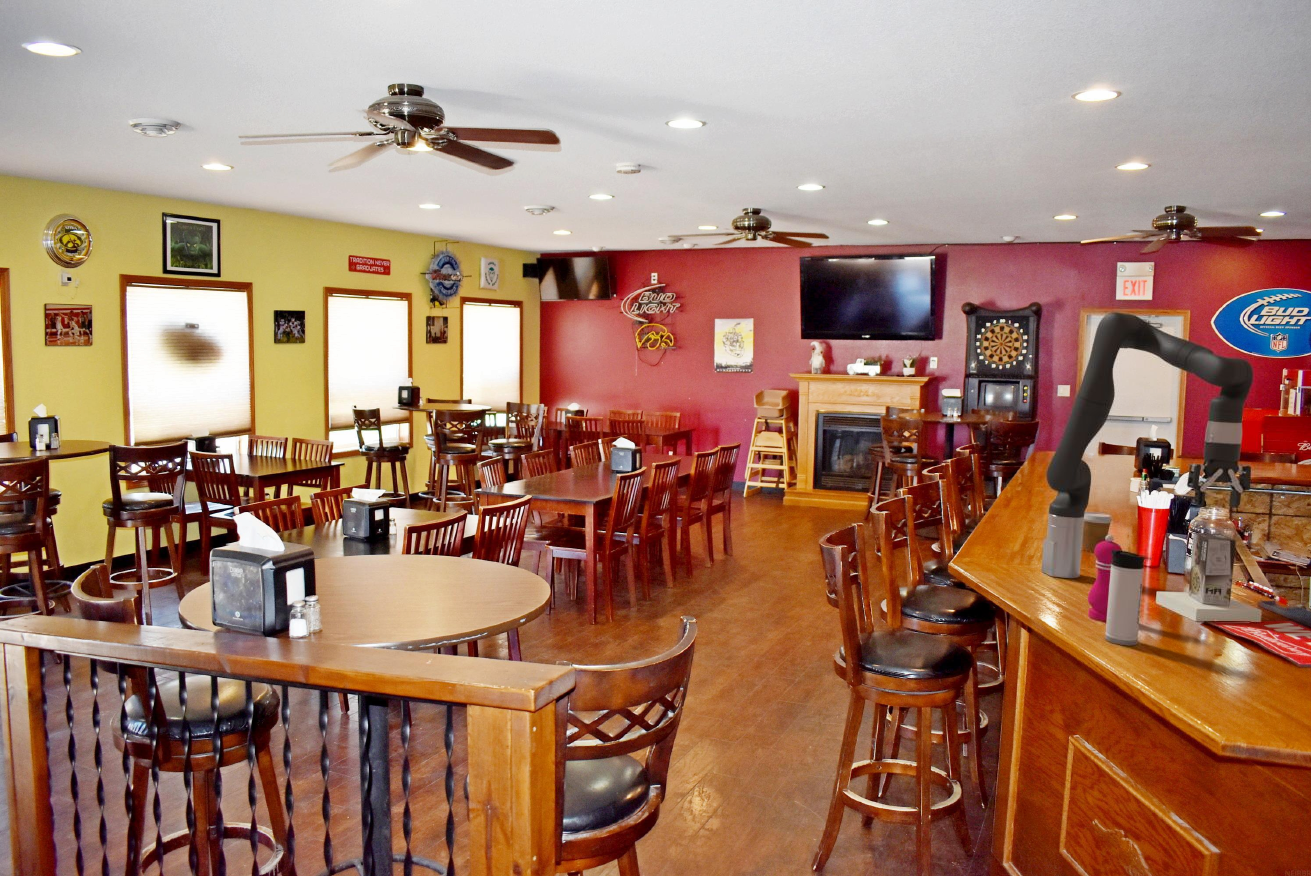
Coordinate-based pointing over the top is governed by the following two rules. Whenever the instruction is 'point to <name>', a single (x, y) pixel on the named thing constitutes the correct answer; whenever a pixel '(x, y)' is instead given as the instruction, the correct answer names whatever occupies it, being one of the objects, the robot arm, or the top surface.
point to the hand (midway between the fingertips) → (1216, 506)
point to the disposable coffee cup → (1095, 529)
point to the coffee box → (1212, 568)
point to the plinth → (1207, 608)
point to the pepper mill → (1102, 579)
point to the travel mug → (1124, 598)
